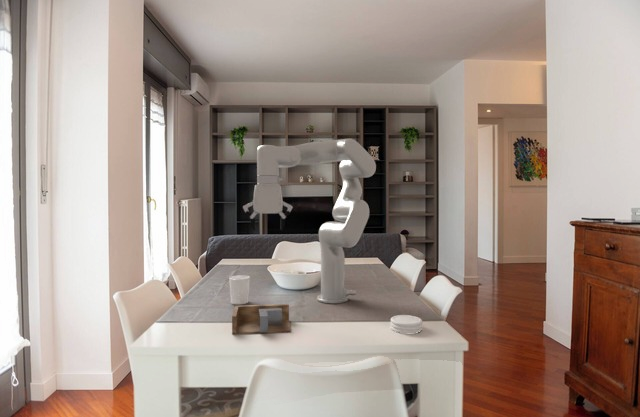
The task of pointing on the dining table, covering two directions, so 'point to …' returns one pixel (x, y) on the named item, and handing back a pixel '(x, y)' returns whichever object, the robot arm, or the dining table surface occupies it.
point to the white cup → (239, 289)
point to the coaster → (406, 324)
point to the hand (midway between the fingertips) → (267, 229)
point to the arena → (257, 319)
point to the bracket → (269, 318)
